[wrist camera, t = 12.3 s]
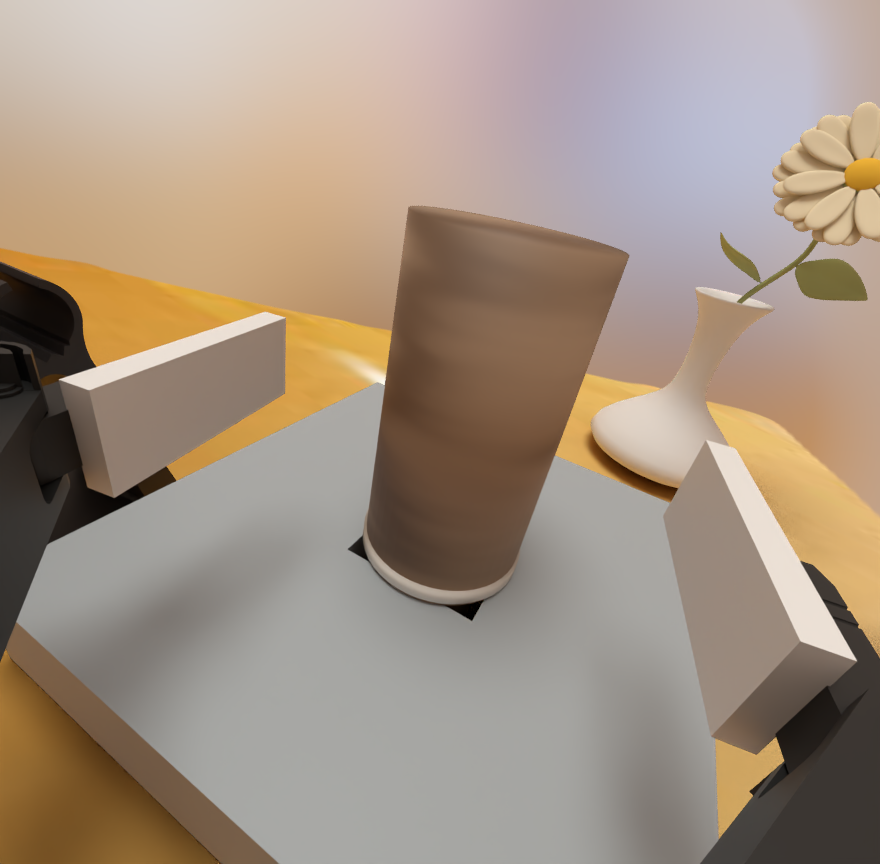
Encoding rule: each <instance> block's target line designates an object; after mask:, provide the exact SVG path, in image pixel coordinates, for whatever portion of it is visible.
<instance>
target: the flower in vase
mask: <svg viewBox="0 0 880 864" xmlns="http://www.w3.org/2000/svg"><path fill="white" fill-rule="evenodd" d="M800 142H801V143H796V144H794V145H793V146H792V147H791V149H790V151H789V152H786V153H784V154H783V156H782V157H781V165H778V166H776V167H775V168H774V169H773V173H772V174H773V177H774V178H775V179H776V180H778V181H779V183H777V184H776V185H775V186H774V187H773V192H774V194H775V195H776V196H777V197H780V198H783V199H781V200H779V201H778V202H777V203H776V204H775V206H774V211H775V212H776V213H777V214H778V215H780V216H784V217H785V218H786V219H787V220H788V221H792V222H793V226H794V228H795V229H796V230H798V231H802V232H804V231H808V230H813V231H812V236H813V241H812V243H811V244H810V245H809V247H808V248H807V249H806V250H805V252H804V253H803V254H802V255H801V256H800V257H798V259H796V260H795V261H794V262H792V263H791V264H790V265H788V266H787V267H785V268H784V269H782V270H781V271H779V272H778V273H776V274H775V275H773V276H772V277H770V278H768V279H767V280H765V281H764V282H761V283H760V284H759V285H757V286H756V287H754V288H753V289H752V290H750V291H749V292H747V293H746V294H745V295H744V296H741V295H737V294H734V293H730V292H725V291H720V290H716V289H711V288H704V287H697V288H696V289H695V291H696V295H697V300H698V309H699V310H698V321H697V326H696V330H695V334H694V337H693V340H692V343H691V346H690V348H689V351H688V353H687V356H686V358H685V360H684V362H683V364H682V366H681V368H680V370H679V371H678V374H677V375H676V376H675V377H674V379H673V380H672V382H671V383H669V384H668V385H667V386H666V387H664V388H662V389H660V390H658V391H656V392H652V393H649V394H646V395H641V396H637V397H633V398H630V399H626V400H622V401H619V402H616V403H614V404H611V405H609V406H607V407H604V408H602V409H601V410H600V411H599V412H598V413H597V414H596V415H595V416H594V417H593V418H592V420H591V429H592V433H593V437H594V439H595V441H596V442H597V444H598V445H599V446H600V447H601V449H602V450H603V451H604V452H605V453H607V454H608V455H609V456H610V457H611V458H613V459H614V460H615V461H617V462H618V463H620V464H621V465H623V466H624V467H626V468H628V469H629V470H631V471H633V472H635V473H637V474H639V475H641V476H643V477H645V478H648V479H650V480H653V481H655V482H658V483H661V484H664V485H667V486H671V487H675V488H679V487H680V485H681V483H682V482H683V480H684V478H685V476H686V474H687V473H688V471H689V469H690V467H691V466H692V464H693V462H694V460H695V459H696V457H697V455H698V453H699V451H700V450H701V448H702V446H703V444H704V443H705V441H706V440H708V441H711V442H715V443H718V444H722V445H725V446H729V445H728V443H727V441H726V440H725V438H724V436H723V434H722V433H721V431H720V429H719V428H718V426H717V425H716V423H715V421H714V420H713V418H712V416H711V414H710V413H709V411H708V408H707V405H706V392H707V389H708V385H709V383H710V381H711V379H712V377H713V374H714V372H715V371H716V369H717V367H718V366H719V364H720V362H721V360H722V359H723V357H724V356H725V354H726V353H727V351H728V350H729V349H730V347H731V346H732V344H733V343H734V342H735V341H736V340H737V339H738V337H739V336H740V335H741V334H742V333H743V332H744V331H745V330H746V329H747V328H748V327H749V326H750V325H751V324H753V323H754V322H756V321H757V320H758V319H760V318H761V317H763V316H765V315H767V314H768V313H770V312H772V311H773V310H774V308H773V307H772V306H770V305H768V304H766V303H763V302H760V301H757V300H754V299H751V298H749V297H751V296H752V295H753V294H755V293H756V292H758V291H759V290H760V289H762V288H763V287H765V286H767V285H768V284H770V283H771V282H773V281H775V280H776V279H778V278H779V277H781V276H782V275H784V274H785V273H787V272H788V271H790V270H792V269H793V268H794V267H796V270H795V275H796V279H797V282H798V284H799V287H800V289H801V291H802V293H803V294H804V295H806V296H808V297H810V298H814V299H821V300H845V301H846V300H847V301H848V300H849V301H866V300H867V293H866V290H865V287H864V284H863V282H862V280H861V278H860V276H859V275H858V273H857V272H856V271H855V270H854V269H853V268H852V267H851V266H850V265H849V264H848V263H846V262H844V261H843V260H839V259H823V260H816V261H808V262H804V263H802V264H800V265H798V264H799V263H801V262H802V261H803V260H804V259H805V258H806V257H807V256H808V255H809V254H810V252H811V251H812V250H813V249H814V247H815V246H816V244H817V243H818V242H826V243H828V244H830V245H839V244H842V245H847V246H850V245H853V244H855V243H857V242H858V241H859V239H860V238H861V236H863V237H865V238H867V239H872V240H874V241H878V242H880V109H879V108H878V107H877V106H876V105H875V104H874V103H871V102H866V103H863V104H861V105H859V106H858V107H857V108H856V110H855V111H854V113H853V115H852V118H851V117H849V116H846V115H841V116H838V117H836V116H834V115H826V116H824V117H822V118H821V119H820V120H819V122H818V125H817V127H814V128H812V129H810V130H807V131H805V132H804V133H803V134H802V135H801V138H800ZM720 239H721V246H722V249H723V251H724V253H725V254H726V256H727V257H728V258H729V259H730V261H731V262H732V263H734V265H736V266H737V267H738V268H739V269H741V270H742V271H743V272H745V273H747V274H748V275H749V276H750V277H752V278H753V279H754V280H756V281H757V282H760V277H759V274H758V271H757V269H756V267H755V265H754V264H753V262H752V261H751V260H750V259H748V258H747V257H746V256H744V255H743V254H741V253H740V252H738V251H737V250H735V249H734V248H733V247H732V246H730V244H728V243H727V241H726V240H725V238H724V237H723V235H722V233H721V235H720Z"/></svg>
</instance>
